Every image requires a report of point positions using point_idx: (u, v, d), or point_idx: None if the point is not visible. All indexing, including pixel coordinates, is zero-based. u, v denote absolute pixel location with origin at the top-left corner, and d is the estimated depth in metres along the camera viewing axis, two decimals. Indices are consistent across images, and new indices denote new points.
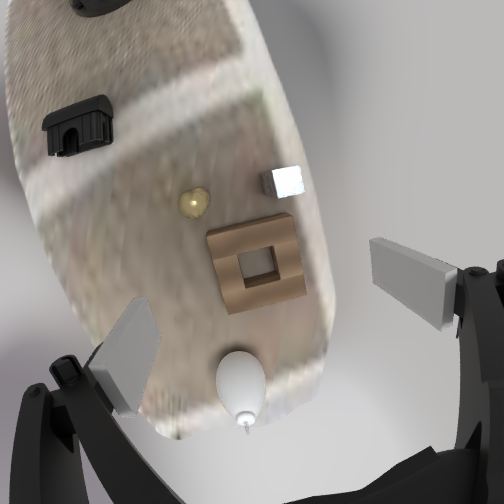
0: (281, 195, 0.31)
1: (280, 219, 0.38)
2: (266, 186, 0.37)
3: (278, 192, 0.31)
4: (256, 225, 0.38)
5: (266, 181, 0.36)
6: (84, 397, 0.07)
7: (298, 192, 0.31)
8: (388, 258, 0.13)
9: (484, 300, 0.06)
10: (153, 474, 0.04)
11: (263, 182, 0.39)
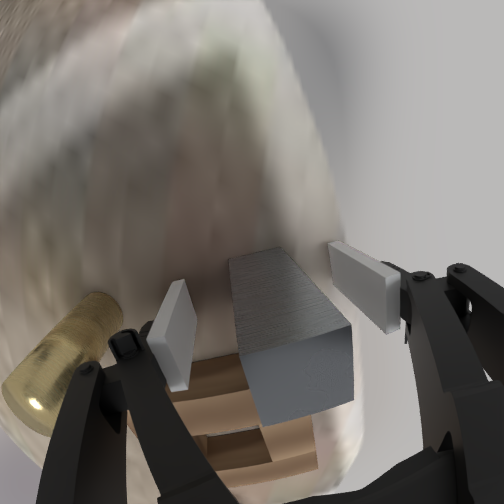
0: (275, 420, 0.08)
1: None
2: None
3: (264, 414, 0.08)
4: (217, 397, 0.14)
5: None
6: (141, 371, 0.08)
7: (333, 404, 0.08)
8: (342, 262, 0.15)
9: (433, 305, 0.07)
10: (201, 454, 0.04)
11: None
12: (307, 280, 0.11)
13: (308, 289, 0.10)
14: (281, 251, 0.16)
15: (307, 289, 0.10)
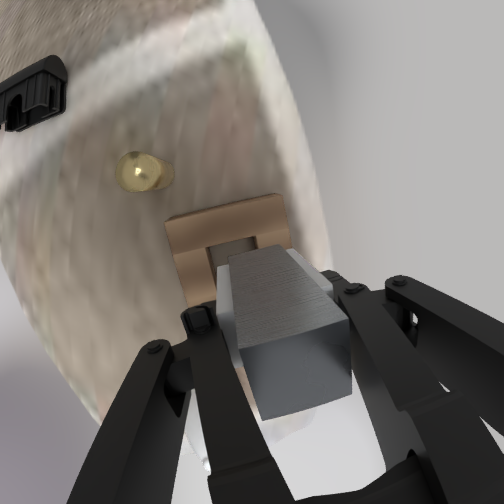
0: (274, 414, 0.08)
1: (265, 199, 0.27)
2: None
3: (263, 408, 0.08)
4: (231, 207, 0.27)
5: None
6: (211, 347, 0.09)
7: (331, 398, 0.08)
8: None
9: (370, 318, 0.08)
10: (261, 436, 0.05)
11: None
12: (305, 275, 0.11)
13: (306, 284, 0.10)
14: (280, 248, 0.16)
15: (306, 285, 0.10)
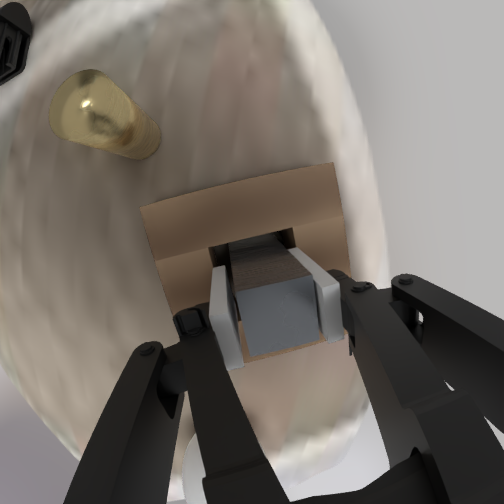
0: (259, 351, 0.12)
1: (307, 168, 0.16)
2: None
3: (251, 344, 0.12)
4: (252, 180, 0.16)
5: None
6: (204, 349, 0.08)
7: (303, 341, 0.12)
8: None
9: (377, 316, 0.08)
10: (255, 437, 0.05)
11: None
12: (287, 252, 0.15)
13: (287, 257, 0.14)
14: (271, 236, 0.20)
15: (286, 257, 0.14)
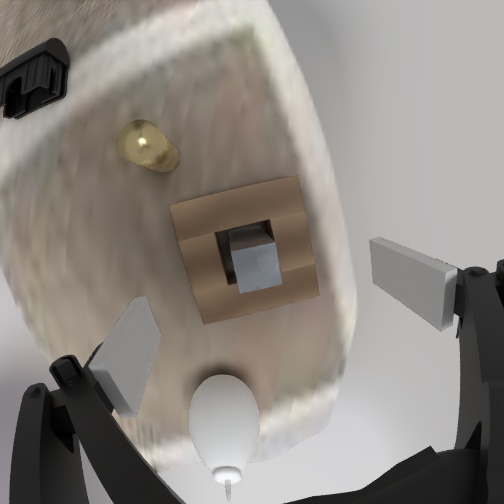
0: (245, 290, 0.20)
1: (279, 180, 0.25)
2: None
3: (240, 285, 0.20)
4: (243, 188, 0.25)
5: None
6: (84, 397, 0.07)
7: (272, 284, 0.21)
8: (388, 258, 0.13)
9: (484, 300, 0.06)
10: (153, 474, 0.04)
11: None
12: (265, 234, 0.24)
13: (264, 236, 0.23)
14: (257, 226, 0.29)
15: (263, 236, 0.23)
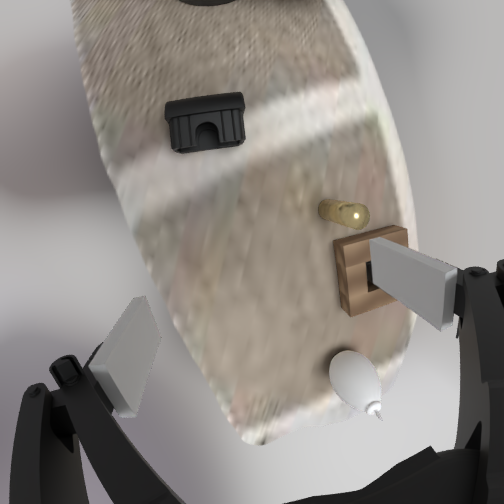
0: None
1: (398, 231, 0.40)
2: (371, 275, 0.42)
3: None
4: (382, 236, 0.40)
5: None
6: (84, 397, 0.07)
7: None
8: (388, 258, 0.13)
9: (484, 300, 0.06)
10: (153, 474, 0.04)
11: None
12: None
13: None
14: None
15: None
